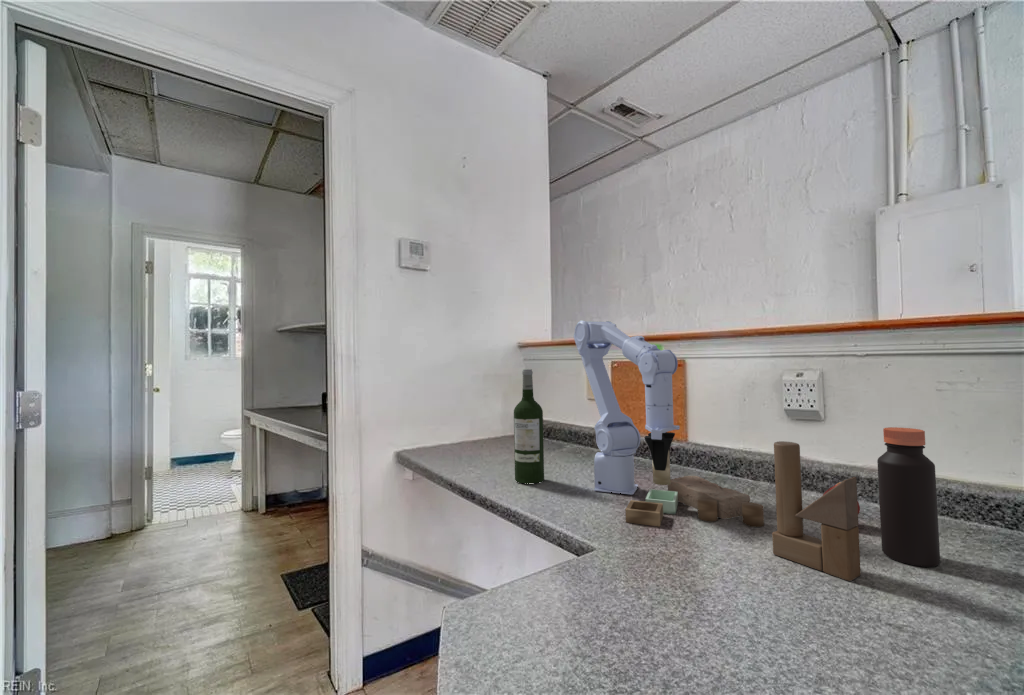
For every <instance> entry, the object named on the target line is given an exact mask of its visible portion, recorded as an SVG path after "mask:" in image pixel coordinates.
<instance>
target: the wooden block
mask: <svg viewBox="0 0 1024 695" xmlns="http://www.w3.org/2000/svg"><path fill="white" fill-rule="evenodd" d="M773 455H774V456H773V457H774V458H773V459H774V461H773V462H774V480H775V481H774V482H775V483H774V485H775V504H776V505H775V507H776V530H775V531H773V532H772V533H771V535H772V536H771V537H772V554H773V555H775V556H778V557H780V558H784V559H787V560H790V561H792V562H795V563H796V564H797V563H798V564H800V565H803V566H806V567H809V568H811V569H815V570H818V571H821V572H822V571H823V573H825V574H828V575H831V576H834V577H836V578H839V579H842V580H845V581H848V582H849V581H850V582H851V581H854V580H855V579H857V578H859V577H860V576H861V574H862V572H861V570H862V568H861V555H860V554H861V551H860V548H861V547H860V531H859V530H860V529H859V514H858V503H859V501H858V486H857V481H858V480H857V477H856V476H853V477H850V478H847V479H844V480H842V481H840V482H841V483H840V484H838V485H837V486H835V485H834V486H835V487H834V488H833V489H831V490H830V491H828V492H827V493H826V494H824V493H823V494H824V495H823V494H822V496H820V497H819V498H816V500H814V501H813V502H812V503H810V504H809V505H808V506H806V507H805V508H803V495H802V494H803V492H802V490H803V488H802V471H801V470H802V468H801V466H802V465H801V446H800V444H799V443H797V442H793V441H780V440H779V441H776V442H774V443H773ZM857 501H858V502H857ZM804 520H808V521H811V522H815V523H819V524H821V525H820V530H821V531H820V532H821V533H820V535H821V539H820V538H818V537H815V536H812V535H809V534H805V533H804Z"/></svg>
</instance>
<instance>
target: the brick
mask: <svg viewBox="0 0 1024 695" xmlns="http://www.w3.org/2000/svg"><path fill="white" fill-rule="evenodd" d="M670 480H671V484H669V485H667V491H676V492H678V503H681V504H683V503H684V505H686V506H688V507H690V508H694V509H696V510H698V505H697V499H699V498H710V499H714V500H716V501H717V515H718V518H719V519H721V520H727V518H730V519H732V517H734V518H739V517H740V516H741V517H742V503H745V502H751V497H750V495H749V494H747V493H743V492H740V491H739V490H736V489H732V488H727V487H722V486H720V485H719V484H717V483H716V482H715V483H714V482H711V481H709V480H707V479H705V478H702V477H701V476H698V475H685V476H681V477H680V476H679V477H675V478H670ZM738 516H739V517H738Z"/></svg>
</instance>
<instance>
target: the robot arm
mask: <svg viewBox="0 0 1024 695" xmlns="http://www.w3.org/2000/svg"><path fill="white" fill-rule="evenodd" d="M573 339H574V342H575V347H576V348H577V352H578V354H579V355H580V356H581V361H582V364H583V367H584V371H585V374H586V378H587V379H588V383H589V386H590V388H591V389H590V390H591V392H592V395H593V397H594V402H595V404H596V408H597V411H598V413H599V417H600V418H599V419H598V421H597V422H596V424H595V425H594V427H593V429H594V432H595V442H596V445H597V448H598V449H599V451H600V452H599V451H597V452H596V453H595V455H594V460H593V461H594V462H593V464H594V467H593V469H594V470H593V473H594V476H593V477H594V489H593V491H594V492H603V493H611V492H612V494H620V493H621V494H622V495H631V496H633V495H634V494H635V493H636V491H637V489H638V488H637V487H639V484H637V483H635V460H634V458H635V457H634V456H635V455H634V454H636V453H637V449H638V448H639V447H640V445H641V433H640V431H639V429H638V428H637V426H636V425H635V424H634V422H633V419H632V418H631V417H630V416H629V415H627V414H625V413H623V412H622V411H621V410H622V409H621V406H620V404H619V401H618V399H617V396H616V392H615V391H614V387H613V385H612V382H611V379H610V376H609V374H608V371H607V368H606V365H605V362H604V357H605V356H606V355H608V354H609V351H610V349H611V347H612V345H613V346H615V347H616V348H619V349H621V352H622V355H623V357H625V359H627V360H629V361H630V362H631V363H633V364H634V365H636V366H637V368H638V369H639V370H638V371H639V373H640V374H641V377H642V378H641V380H642V383H643V385H644V395H645V398H644V401H645V402H644V403H645V425H644V429H645V430H647V431H648V434H647V435H644V441H645V443H646V445H647V447H648V449H649V452H650V455H651V461H652V460H653V465H654V468H655V470H661V471H665V469H666V465H667V457H668V451H669V453H670V450H671V446H672V442H673V440H674V438H675V435H676V433H675V432H673V431H676V430H677V431H678V430H680V429H681V428H680V425H676V424H675V422H674V401H673V400H674V399H673V398H674V396H673V395H674V394H673V375H674V374H675V373H676V372H677V370H678V365H679V364H678V358H677V355H676V354H675V353H674V352H673V351H672V350H671V349H662V350H661V349H660V348H659V347H658V345H656V344H654V343H652V344H651V343H650V342H648V341H646V340H645V337H644V336H643V335H635V336H631V337H630V336H629V335H628V334H626V333H625V332H623V331H622V330H621V329H620V328H618V327H617V324H616V323H613V322H611V321H609V320H608V321H607V320H606V321H594V320H593V321H591V320H588V321H587V320H579V321H578V322H577V324H576V325H575V328H574V333H573Z"/></svg>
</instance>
